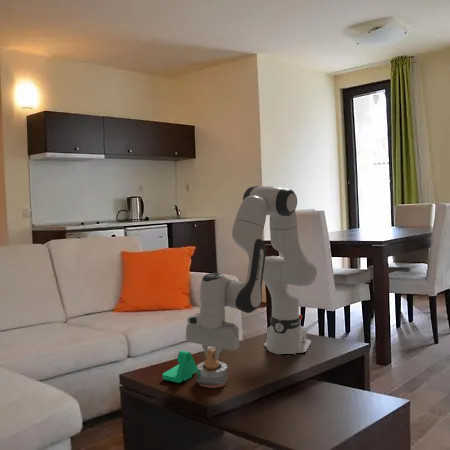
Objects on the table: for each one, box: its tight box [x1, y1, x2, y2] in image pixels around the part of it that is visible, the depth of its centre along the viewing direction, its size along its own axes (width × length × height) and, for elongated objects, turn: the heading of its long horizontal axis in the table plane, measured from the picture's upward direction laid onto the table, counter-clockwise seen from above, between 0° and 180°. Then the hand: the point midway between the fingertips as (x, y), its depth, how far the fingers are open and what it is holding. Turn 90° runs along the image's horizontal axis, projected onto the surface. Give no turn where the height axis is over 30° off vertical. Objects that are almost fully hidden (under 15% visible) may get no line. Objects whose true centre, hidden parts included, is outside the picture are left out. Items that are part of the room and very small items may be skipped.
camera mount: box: [162, 350, 197, 384], centre depth 197 cm, size 12×8×10 cm, turn 151°
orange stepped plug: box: [204, 347, 220, 370], centre depth 192 cm, size 5×5×6 cm
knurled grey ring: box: [196, 361, 228, 385], centre depth 193 cm, size 11×11×6 cm
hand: (212, 357), depth 192 cm, fingers closed on orange stepped plug
